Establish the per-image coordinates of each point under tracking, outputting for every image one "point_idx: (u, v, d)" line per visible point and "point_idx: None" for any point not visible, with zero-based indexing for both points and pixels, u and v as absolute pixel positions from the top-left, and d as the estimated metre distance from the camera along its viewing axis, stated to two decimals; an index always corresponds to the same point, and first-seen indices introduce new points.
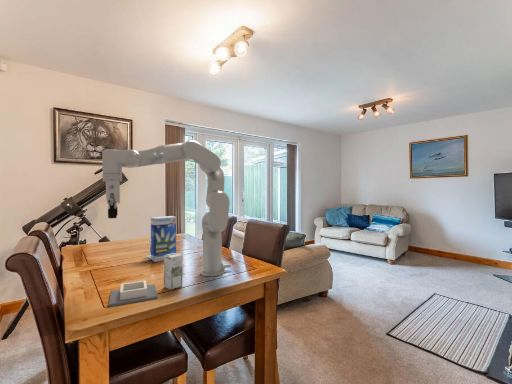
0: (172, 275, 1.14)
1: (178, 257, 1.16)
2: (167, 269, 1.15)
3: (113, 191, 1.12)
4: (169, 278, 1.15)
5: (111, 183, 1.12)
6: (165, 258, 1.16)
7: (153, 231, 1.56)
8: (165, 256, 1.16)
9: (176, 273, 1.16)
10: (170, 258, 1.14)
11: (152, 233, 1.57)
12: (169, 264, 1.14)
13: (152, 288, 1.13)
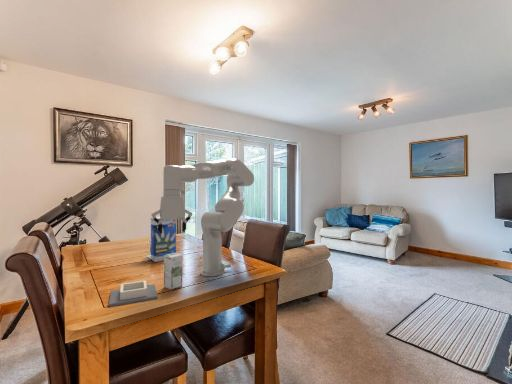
0: (172, 275, 1.14)
1: (178, 257, 1.16)
2: (167, 269, 1.15)
3: None
4: (169, 278, 1.15)
5: None
6: (165, 258, 1.16)
7: (153, 231, 1.56)
8: (165, 256, 1.16)
9: (176, 273, 1.16)
10: (170, 258, 1.14)
11: (152, 233, 1.57)
12: (169, 264, 1.14)
13: (152, 288, 1.13)
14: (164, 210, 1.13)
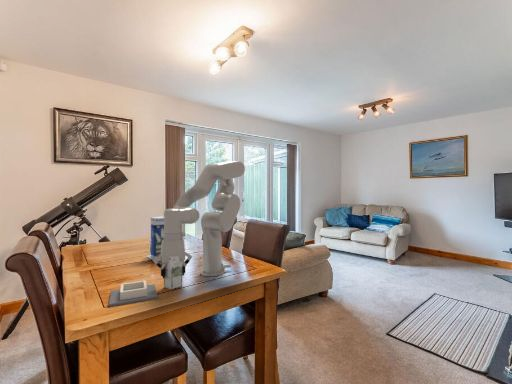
0: (172, 275, 1.14)
1: (178, 257, 1.16)
2: (167, 269, 1.15)
3: None
4: (169, 278, 1.15)
5: (183, 241, 1.19)
6: None
7: (153, 231, 1.56)
8: None
9: (176, 273, 1.16)
10: (170, 258, 1.14)
11: (152, 233, 1.57)
12: (169, 264, 1.14)
13: (152, 288, 1.13)
14: (164, 254, 1.14)
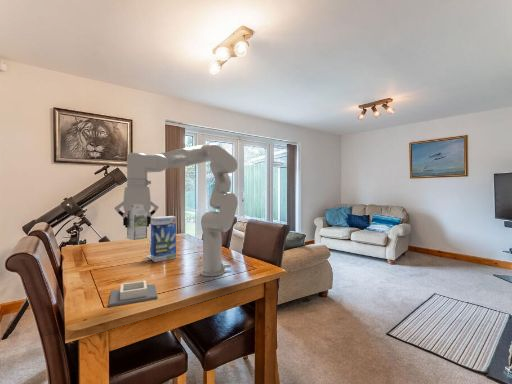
0: (135, 224, 1.05)
1: (142, 205, 1.07)
2: (130, 218, 1.06)
3: None
4: (131, 228, 1.05)
5: None
6: None
7: (153, 231, 1.56)
8: None
9: (140, 222, 1.06)
10: (133, 205, 1.05)
11: (152, 233, 1.57)
12: (132, 212, 1.05)
13: (152, 288, 1.13)
14: (127, 201, 1.05)
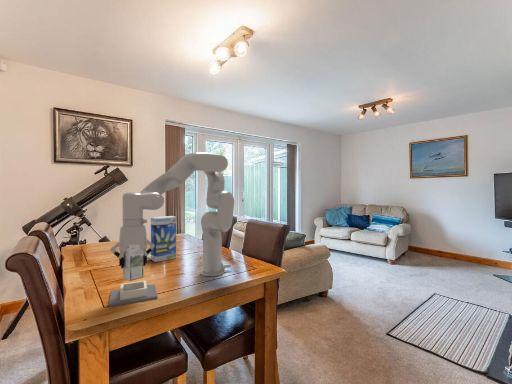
0: (131, 265, 1.04)
1: (138, 245, 1.06)
2: (126, 258, 1.05)
3: None
4: (127, 268, 1.05)
5: (145, 228, 1.09)
6: None
7: (153, 231, 1.56)
8: None
9: (136, 263, 1.06)
10: (128, 246, 1.04)
11: (152, 233, 1.57)
12: (128, 252, 1.04)
13: (152, 288, 1.13)
14: (122, 242, 1.04)
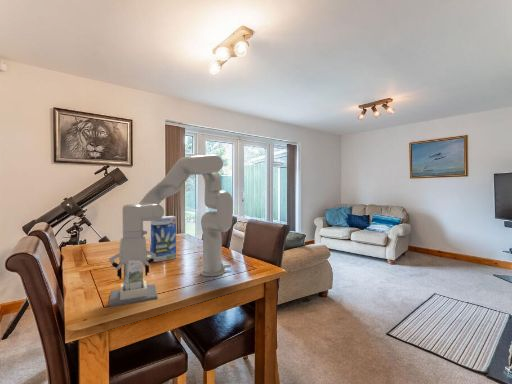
0: (130, 280, 1.05)
1: (137, 261, 1.06)
2: (126, 274, 1.06)
3: (146, 247, 1.10)
4: (127, 284, 1.05)
5: (145, 239, 1.09)
6: None
7: (153, 231, 1.56)
8: None
9: (135, 278, 1.06)
10: (128, 262, 1.05)
11: (152, 233, 1.57)
12: (127, 268, 1.05)
13: (152, 288, 1.13)
14: (122, 254, 1.04)
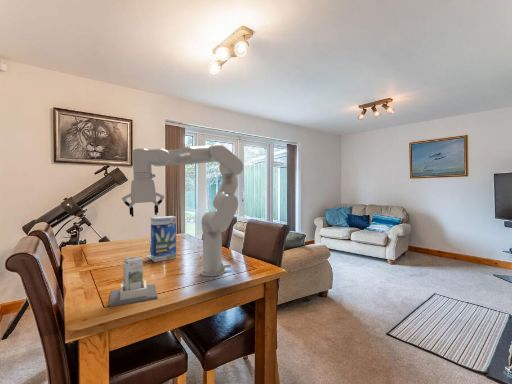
0: (129, 281, 1.05)
1: (137, 261, 1.06)
2: (125, 274, 1.06)
3: None
4: (126, 284, 1.05)
5: None
6: (124, 262, 1.07)
7: (153, 231, 1.56)
8: (124, 260, 1.07)
9: (135, 278, 1.06)
10: (127, 262, 1.05)
11: (152, 233, 1.57)
12: (127, 268, 1.05)
13: (152, 288, 1.13)
14: (134, 193, 1.14)
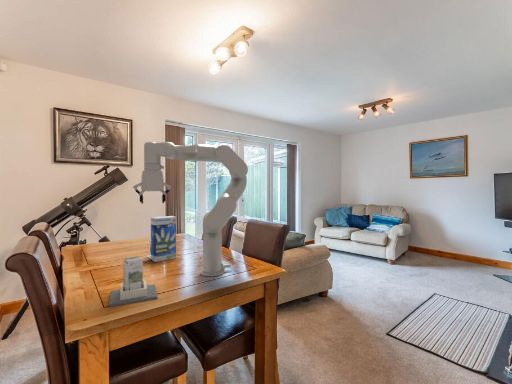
0: (130, 281, 1.05)
1: (137, 261, 1.06)
2: (125, 274, 1.06)
3: None
4: (126, 284, 1.05)
5: (162, 173, 1.30)
6: (124, 262, 1.07)
7: (153, 231, 1.56)
8: (124, 260, 1.07)
9: (135, 278, 1.06)
10: (127, 262, 1.04)
11: (152, 233, 1.57)
12: (127, 268, 1.05)
13: (152, 288, 1.13)
14: (144, 182, 1.25)
